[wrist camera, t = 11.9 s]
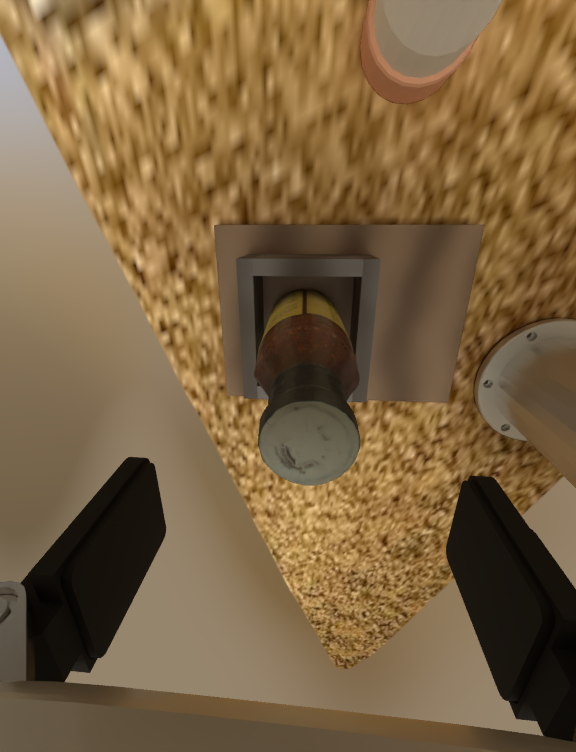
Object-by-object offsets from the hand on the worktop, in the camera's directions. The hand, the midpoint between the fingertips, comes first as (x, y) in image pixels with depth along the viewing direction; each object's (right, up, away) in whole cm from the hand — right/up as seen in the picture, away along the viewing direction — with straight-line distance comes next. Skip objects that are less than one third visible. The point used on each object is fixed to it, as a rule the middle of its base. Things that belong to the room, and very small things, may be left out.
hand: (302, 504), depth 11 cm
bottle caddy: (+4, +10, +22) cm, 25 cm away
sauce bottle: (+1, +9, +21) cm, 23 cm away
